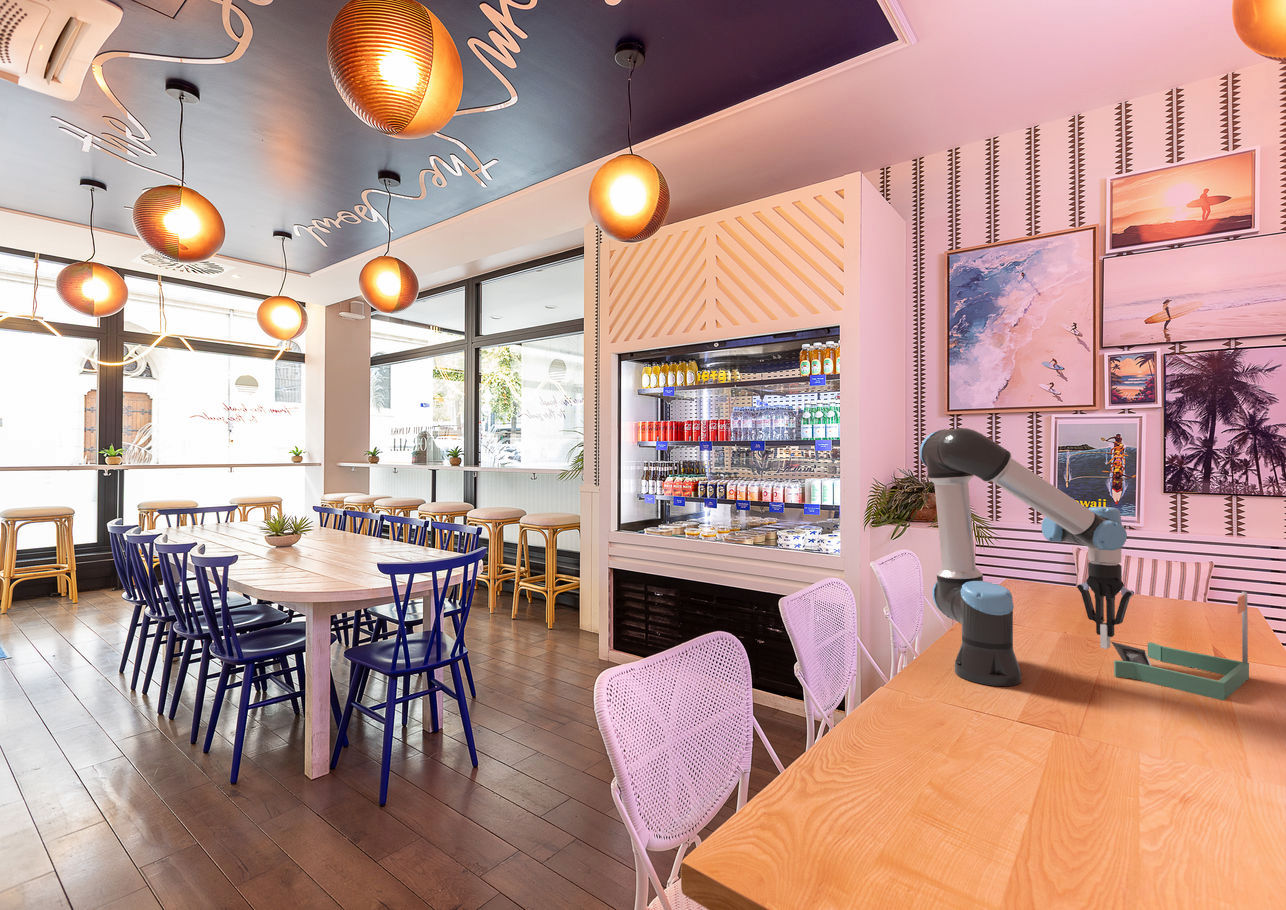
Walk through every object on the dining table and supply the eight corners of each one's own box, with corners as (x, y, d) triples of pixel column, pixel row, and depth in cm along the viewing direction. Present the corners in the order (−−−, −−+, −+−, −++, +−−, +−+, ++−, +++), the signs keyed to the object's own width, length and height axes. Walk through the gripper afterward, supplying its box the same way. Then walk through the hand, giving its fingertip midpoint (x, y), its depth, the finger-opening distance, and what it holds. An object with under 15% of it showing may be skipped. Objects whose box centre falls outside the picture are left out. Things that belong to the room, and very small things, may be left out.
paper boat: (1171, 668, 162) (1164, 666, 156) (1152, 685, 164) (1145, 684, 158) (1124, 634, 171) (1116, 631, 165) (1108, 651, 173) (1099, 649, 167)
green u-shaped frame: (1112, 676, 160) (1112, 591, 160) (1148, 655, 175) (1148, 578, 175) (1221, 702, 143) (1220, 607, 143) (1250, 677, 158) (1250, 591, 158)
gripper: (1138, 564, 169) (1138, 650, 169) (1082, 558, 180) (1083, 639, 180) (1128, 567, 165) (1129, 656, 165) (1072, 561, 176) (1073, 644, 176)
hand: (1105, 647), depth 173 cm, fingers closed
